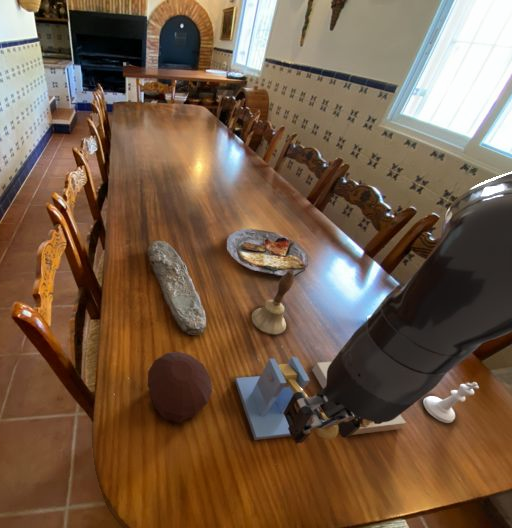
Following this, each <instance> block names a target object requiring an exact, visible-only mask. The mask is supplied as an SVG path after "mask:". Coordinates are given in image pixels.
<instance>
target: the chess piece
mask: <svg viewBox="0 0 512 528" xmlns="http://www.w3.org/2000/svg"><path fill="white" fill-rule="evenodd" d="M474 389H475V390H479V389H480V386H479V385H478V383H477V382H476V381H473V382H471V383H470V382H465V383H461V384H459V386H458V389H452V390H450V394H451V395H450V396H448V397H446V398H444V399H442V398H440V397H438V396H435V395H429V396H426V397H424V399H423V406H424V408H425V410H426V411H427V413H428V414H429V415H431V416H432V417H433V418H435V419H436V420H437V421H440V422H442V423H446V424H449V423H453V422H454V420H455V419H456V413H455V410H454V408H453V406H454V405H455V404H456V403H457V402H462V403H463V402H465V401H466V397H468V396H474V394H475V390H474Z"/></svg>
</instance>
